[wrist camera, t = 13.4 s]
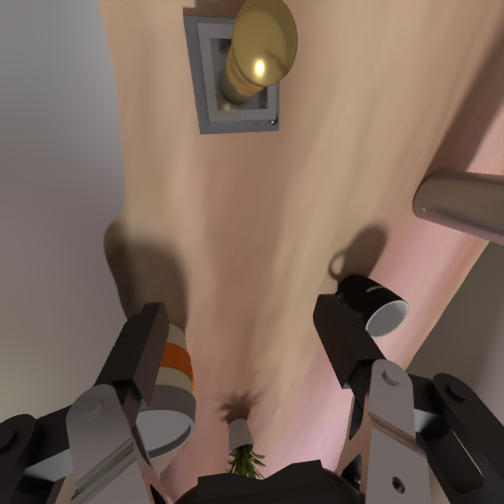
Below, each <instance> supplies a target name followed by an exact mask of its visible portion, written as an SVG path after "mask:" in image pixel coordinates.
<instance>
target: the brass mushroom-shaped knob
mask: <svg viewBox="0 0 504 504" xmlns="http://www.w3.org/2000/svg"><path fill="white" fill-rule="evenodd" d="M297 44H298V37H297V29H296V24H295V21H294V18H293V16H292V13H291V12H290V10H289V8H288V7H287V5H286V4H285V3H284V2H283V1H282V0H246V1H245V2H244V4H243V5H242V6H241V8H240V10H239V11H238V14H237V16H236V19H235V22H234V26H233V30H232V37H231V47H230V50H229V52H228V55H227V57H226V60H225V63H224V65H223V68H222V71H221V75H220V84H221V89H222V91H223V93H224V95H225V96H226V98H227V99H228V100H230V101H231V102H233V103H236V104H242V103H245V102H246V101H248V100H249V99H250V98H252V97H253V96H254V95H255V94H257V93H258V92H259V91H260V90H262V89H263V88H264V87H270V86H272V85H275V84H276V83H278V82H279V81H280V80H282V79H283V78H284V77H285V76H286V75H287V74H288V72H289V71H290V69H291V67H292V65H293V63H294V60H295V57H296V52H297Z"/></svg>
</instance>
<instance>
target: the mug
mask: <svg viewBox="0 0 504 504" xmlns="http://www.w3.org/2000/svg"><path fill="white" fill-rule="evenodd" d="M335 295H336V297H337V298H338V296H339V298H338V300H339V301H340V303H345V304H346V305H347V306H349V307H350V308H351V309H352V310H353V311H354V312H355V314H356V315H357V317H358V318H359V321H361V322H362V324H363V325H364V328H365V329H366V330H367V331H368V333H369V334H370V336H371V337H373V338H378V337H382V336H385V335H387V334H389V333H391V332H392V331H394V330H395V329H396V328H398V327H399V326H400V325H401V324H402V323H403V321H404V320H405V318H406V317H407V315H408V312H409V305H408V303H407V302H406V301H405V300H403V299H402V298H401V297H399V296H398V295H396V294H395V293H393V292H392V291H390V290H389V289H387V288H385V287H384V286H382V285H380V284H379V283H377V282H375V281H373V280H371V279H369V278H367V277H365V276H362V275H352V276H349V277H347V278H346V279H344V280H343V281H342V283H341V284H340V286H339V288H338V291H337V292H336V293H335Z"/></svg>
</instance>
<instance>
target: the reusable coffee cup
mask: <svg viewBox="0 0 504 504" xmlns="http://www.w3.org/2000/svg"><path fill="white" fill-rule="evenodd" d="M193 388H194V379H193V372H192V366H191V359H190V355H189V354H188V352H187V348H186V341H185V335H184V332H183V331H182V330H181V329H180V328H179V327H177V326H176V325H173V324H169V334H168V338H167V342H166V346H165V349H164V353H163V357H162V360H161V364H160V368H159V372H158V375H157V379H156V383H155V386H154V390H153V394H152V398H151V401H150V405H149V408H148V409H139V413H138V416H137V419H136V423H137V426H138V429H139V431H140V434H141V437H142V439H143V442H144V444H145V447H146V450H147V452H148V455H149V458H150V460H153V459H156V458H159V457H162V456H164V455H166V454H169V453H171V452H172V451H174V450H176V449H178V448H179V447H181V446H182V445H183V444H184V443H186V442H187V441H188V440H189V438H190V437H191V436H192V434H193V432H194V425H195V412H196V400H195V398H194V396H193V392H192V391H193Z"/></svg>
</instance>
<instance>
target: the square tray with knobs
mask: <svg viewBox="0 0 504 504" xmlns="http://www.w3.org/2000/svg"><path fill="white" fill-rule="evenodd" d="M183 20H184V26H185V33H186V40H187V47H188V53H189V60H190V67H191V74H192V80H193V87H194V94H195V101H196V107H197V114H198V121H199V128H200V134H219V133H239V132H259V131H278V130H279V82H278V83H276V84H275V85H272V86H270V87H264V88H263V89H262V90H260V91H259V92H258V93H257V94H255V95H254V96H253V97H252V98H250V99H249V100H248V101H246V102H245V103H242V104H236V103H233V102H231V101H230V100H228V99H227V98H226V96H225V95H224V93H223V91H222V89H221V84H220V75H221V71H222V68H223V65H224V63H225V60H226V57H227V55H228V52H229V50H230V47H231V37H232V30H233V26H234V22H235V19H231V18H215V17H200V16H184V15H183Z"/></svg>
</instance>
